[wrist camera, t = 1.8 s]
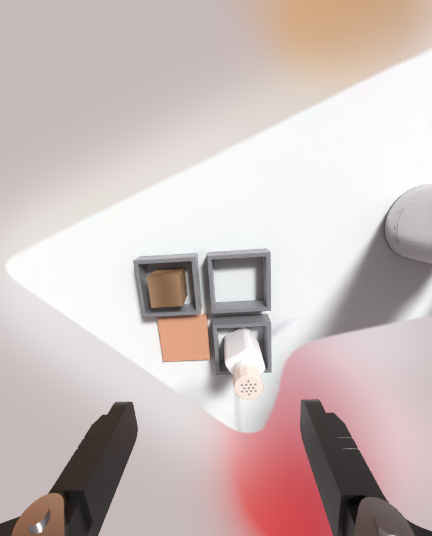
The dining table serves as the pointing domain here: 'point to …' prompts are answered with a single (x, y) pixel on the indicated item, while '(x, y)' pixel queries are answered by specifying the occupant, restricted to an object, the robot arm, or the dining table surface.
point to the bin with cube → (144, 291)
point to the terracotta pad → (184, 337)
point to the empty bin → (241, 305)
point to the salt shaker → (244, 362)
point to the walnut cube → (167, 287)
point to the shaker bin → (242, 322)
